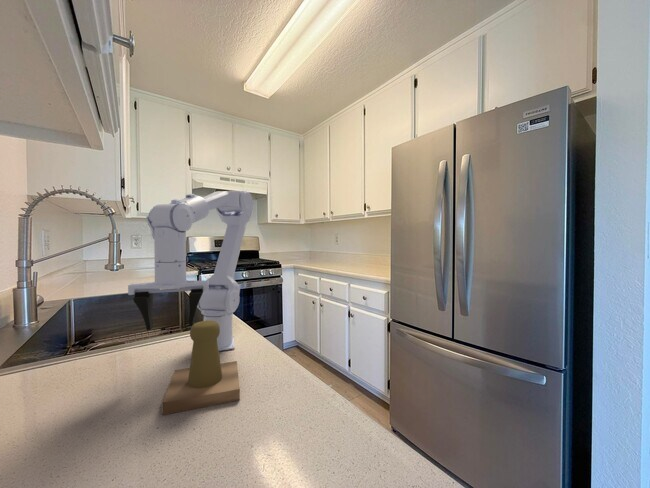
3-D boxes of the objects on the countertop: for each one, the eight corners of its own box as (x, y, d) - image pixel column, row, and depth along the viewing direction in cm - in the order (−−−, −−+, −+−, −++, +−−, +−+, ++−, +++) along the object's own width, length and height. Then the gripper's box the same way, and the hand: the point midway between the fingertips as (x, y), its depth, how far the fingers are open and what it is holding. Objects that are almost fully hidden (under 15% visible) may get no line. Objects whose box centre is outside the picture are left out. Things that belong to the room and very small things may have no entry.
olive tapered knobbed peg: (212, 389, 48) (212, 327, 48) (180, 387, 49) (180, 326, 49) (228, 372, 54) (227, 317, 54) (199, 371, 55) (199, 317, 55)
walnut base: (175, 379, 56) (174, 370, 56) (236, 370, 60) (236, 361, 60) (162, 415, 44) (162, 402, 44) (239, 400, 49) (239, 388, 49)
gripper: (122, 264, 51) (122, 337, 51) (207, 262, 56) (207, 328, 56) (134, 261, 57) (134, 326, 57) (209, 259, 62) (209, 319, 62)
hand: (171, 326), depth 57 cm, fingers open, 7 cm apart
